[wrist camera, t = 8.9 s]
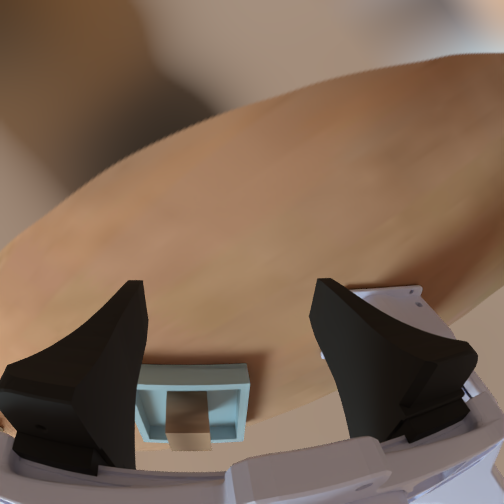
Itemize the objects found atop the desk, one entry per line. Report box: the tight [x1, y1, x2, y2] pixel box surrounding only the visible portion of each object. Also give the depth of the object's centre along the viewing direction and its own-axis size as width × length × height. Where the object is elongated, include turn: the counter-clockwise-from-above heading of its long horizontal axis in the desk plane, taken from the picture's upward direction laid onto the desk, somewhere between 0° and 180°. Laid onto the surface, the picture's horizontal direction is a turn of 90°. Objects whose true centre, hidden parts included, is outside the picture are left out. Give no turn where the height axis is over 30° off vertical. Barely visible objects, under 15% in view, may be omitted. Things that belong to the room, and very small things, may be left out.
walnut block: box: [165, 391, 212, 451], centre depth 26 cm, size 4×4×5 cm
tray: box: [135, 363, 250, 443], centre depth 28 cm, size 12×12×2 cm
